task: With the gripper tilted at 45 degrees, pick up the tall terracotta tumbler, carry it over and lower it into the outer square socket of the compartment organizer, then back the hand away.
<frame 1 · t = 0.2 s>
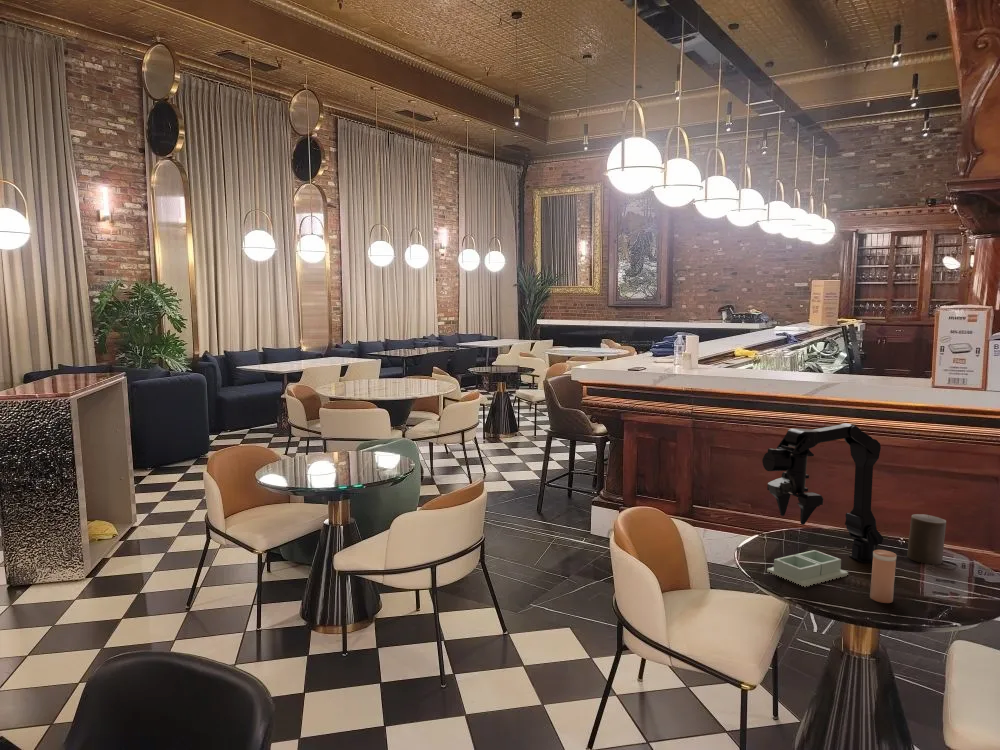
hand: (792, 520, 213), 15 cm above the table, tool pointing down, fingers open, 9 cm apart
tumbler: (881, 598, 190), on the table
compartment organizer: (807, 573, 208), on the table
pillar candle: (924, 560, 223), on the table
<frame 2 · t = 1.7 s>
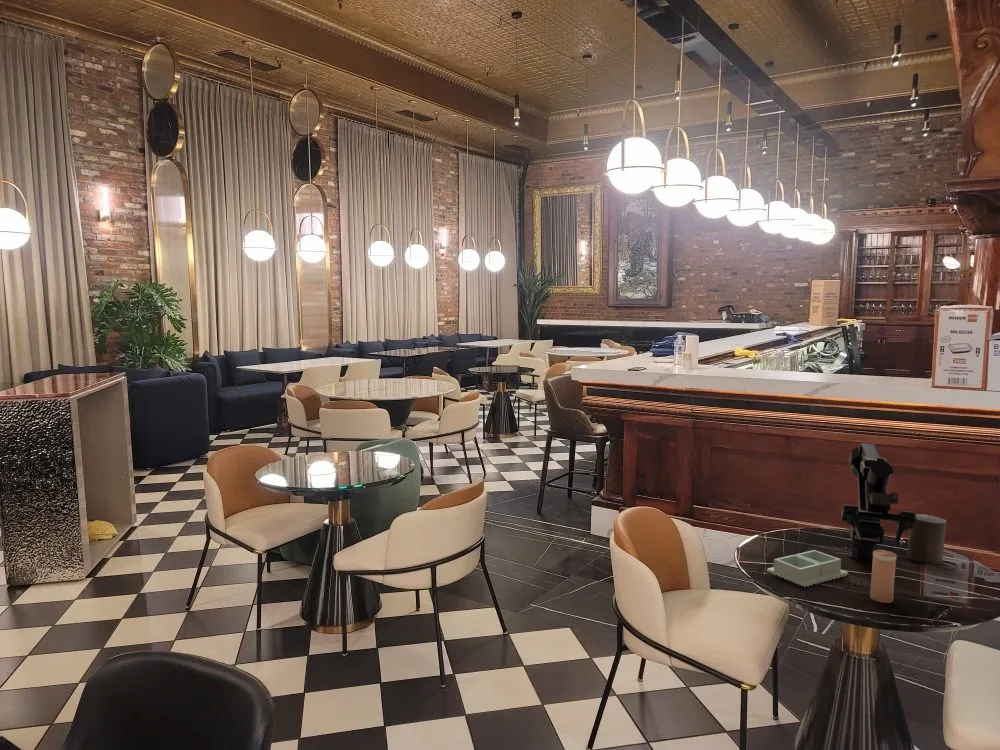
hand: (879, 542, 197), 13 cm above the table, tool tilted 45°, fingers open, 9 cm apart
nothing on the table moved.
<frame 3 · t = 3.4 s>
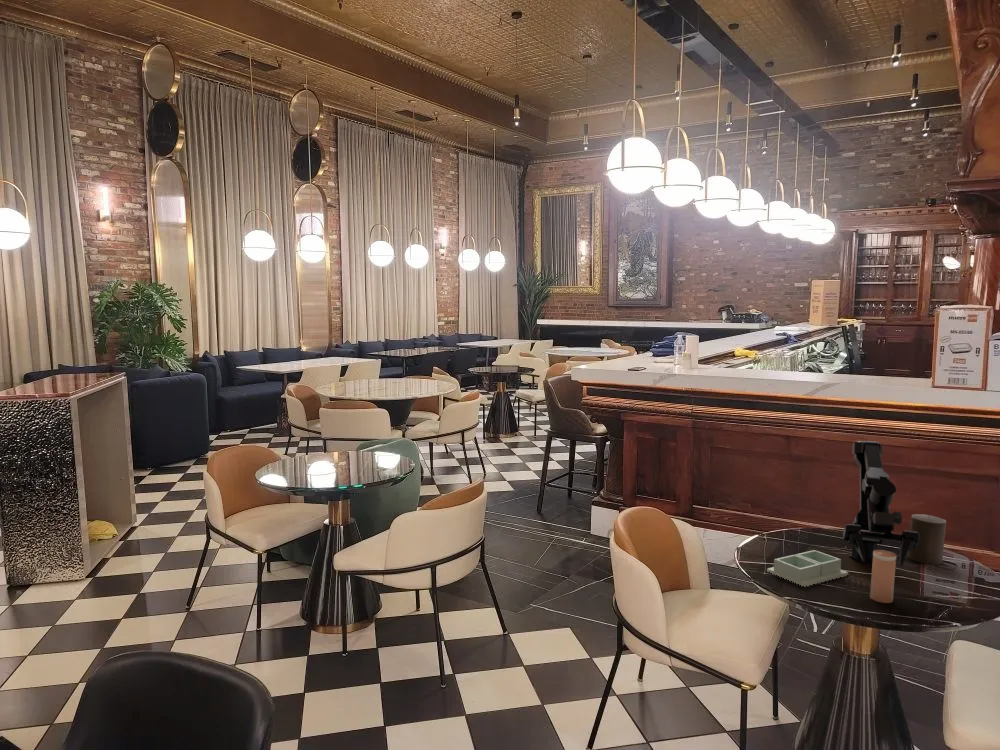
hand: (882, 563, 191), 9 cm above the table, tool tilted 45°, fingers open, 9 cm apart
nothing on the table moved.
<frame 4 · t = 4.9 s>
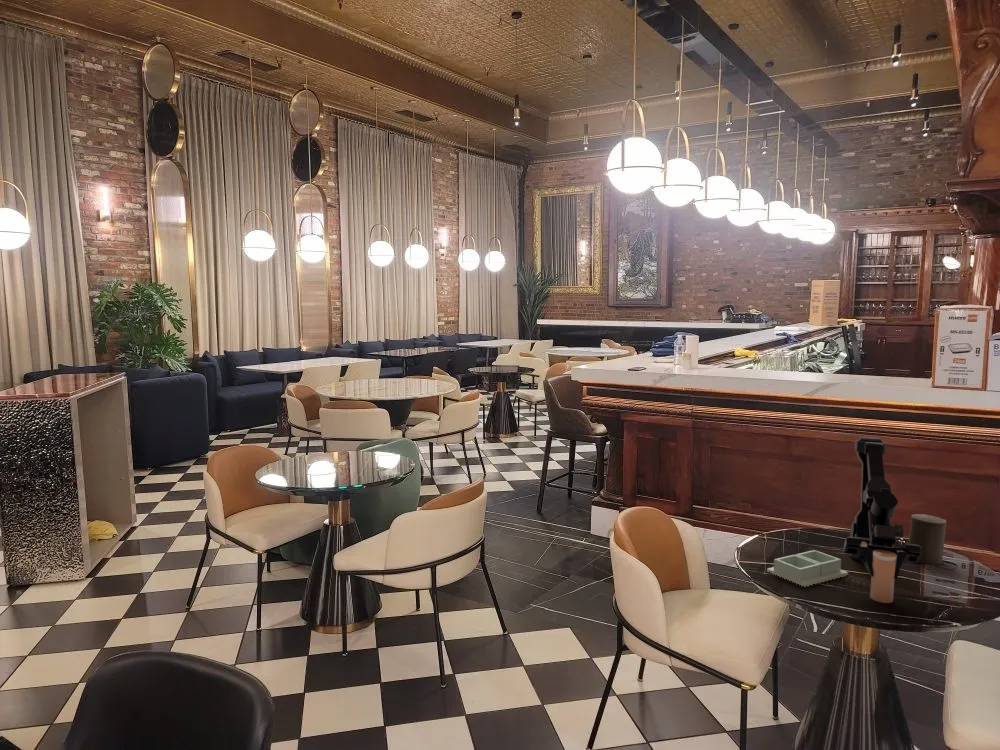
hand: (883, 577, 188), 7 cm above the table, tool tilted 45°, fingers closed on tumbler, 5 cm apart
tumbler: (881, 598, 190), on the table, touching gripper
everything else where it was.
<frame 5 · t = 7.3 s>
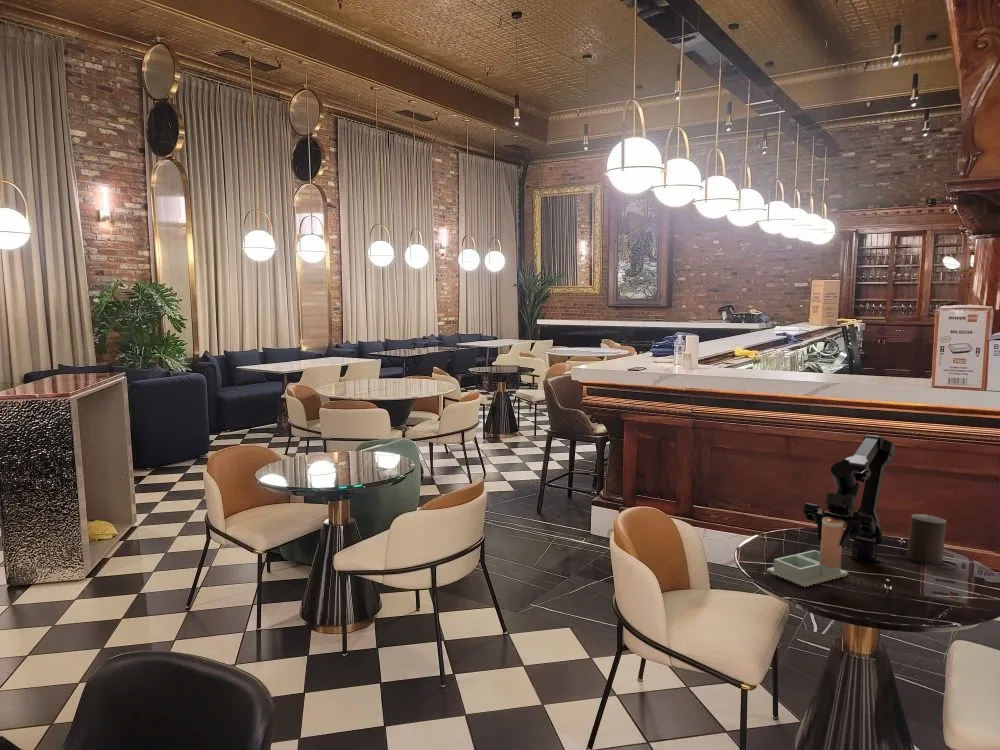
hand: (829, 542, 195), 13 cm above the table, tool tilted 45°, fingers closed on tumbler, 5 cm apart
tumbler: (830, 564, 197), point 7 cm above the table, touching gripper
everything else where it was.
when the fingers open (9 cm above the table, at t = 9.8 s): tumbler drops 1 cm, resting on compartment organizer.
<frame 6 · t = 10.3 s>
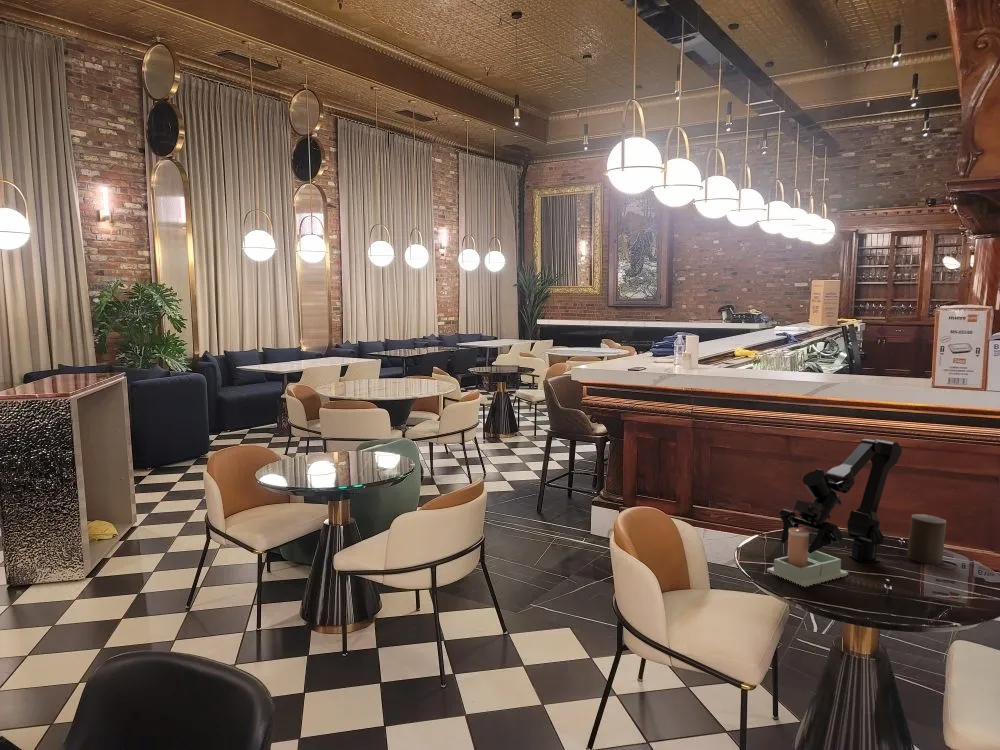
hand: (795, 547, 204), 9 cm above the table, tool tilted 45°, fingers open, 9 cm apart
tumbler: (796, 572, 205), point 1 cm above the table, touching compartment organizer
everything else where it was.
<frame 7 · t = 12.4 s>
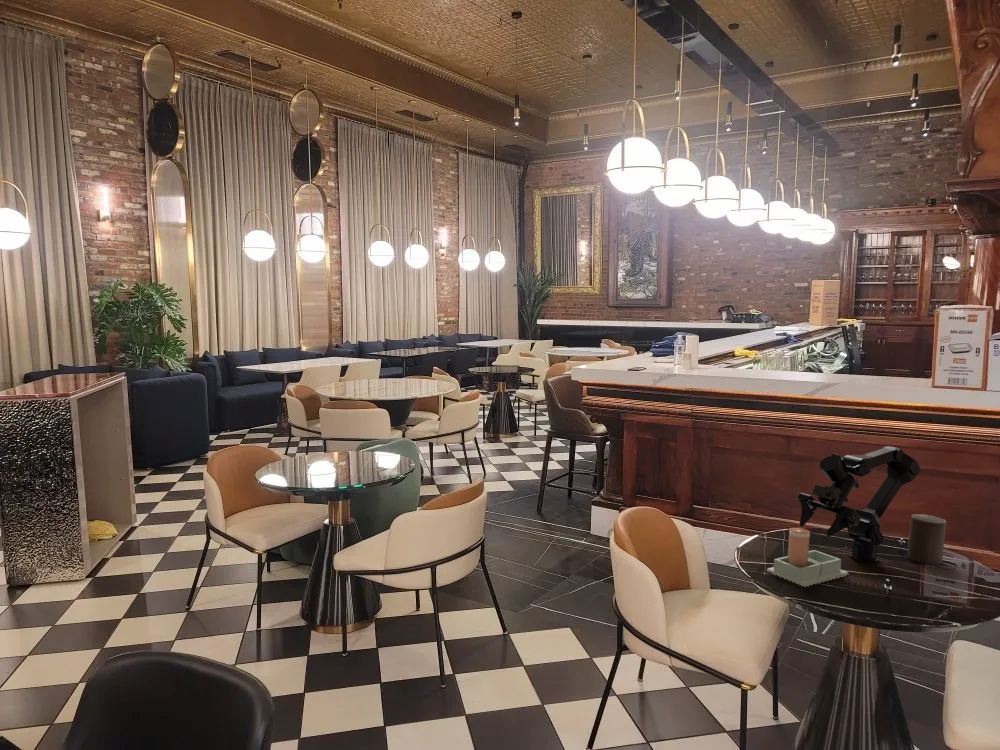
hand: (813, 531, 209), 12 cm above the table, tool tilted 40°, fingers open, 9 cm apart
nothing on the table moved.
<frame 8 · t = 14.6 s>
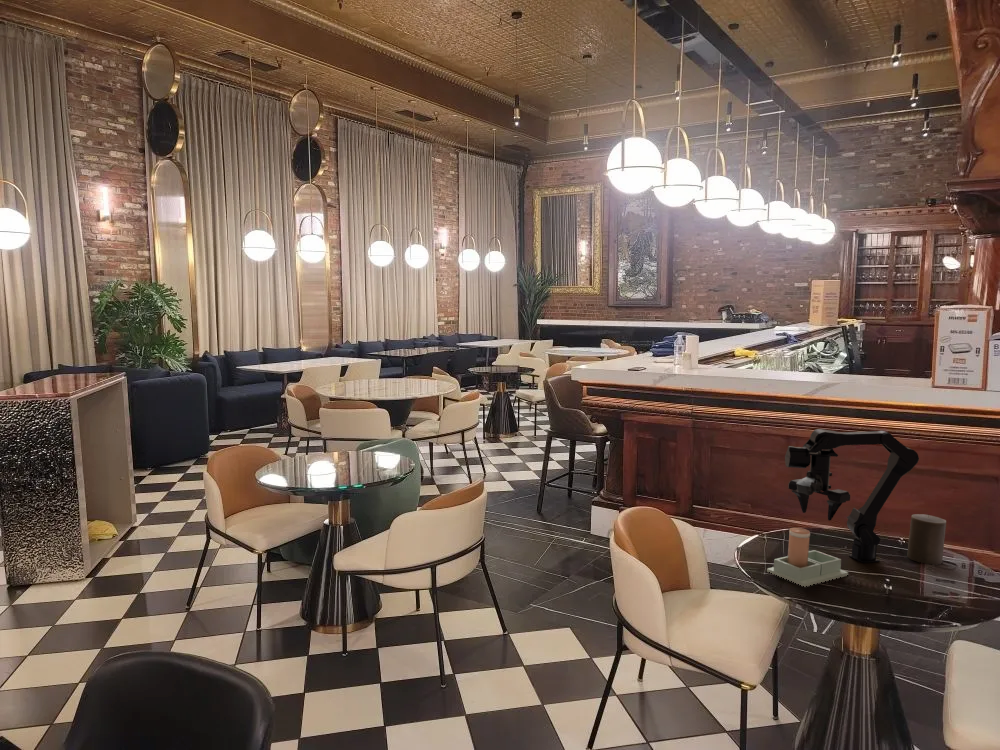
hand: (816, 516, 223), 13 cm above the table, tool pointing down, fingers open, 9 cm apart
nothing on the table moved.
at the end: tumbler 0.0 cm from the target spot on the compartment organizer, point 1.0 cm above the compartment organizer's base; tumbler tilted 1°; the gripper is holding nothing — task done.
